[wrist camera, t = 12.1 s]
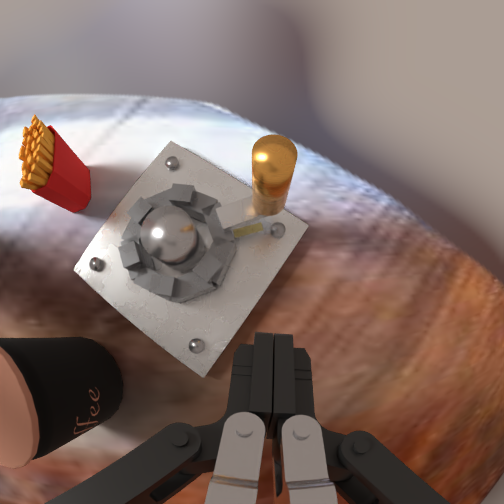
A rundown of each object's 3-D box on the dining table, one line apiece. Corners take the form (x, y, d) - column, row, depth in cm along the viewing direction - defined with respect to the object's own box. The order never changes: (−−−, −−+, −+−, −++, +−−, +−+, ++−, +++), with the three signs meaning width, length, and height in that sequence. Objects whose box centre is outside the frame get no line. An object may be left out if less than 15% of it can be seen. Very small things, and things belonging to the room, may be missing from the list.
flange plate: (205, 375, 32) (191, 390, 24) (79, 271, 35) (42, 258, 27) (306, 229, 36) (320, 204, 28) (173, 146, 38) (157, 110, 30)
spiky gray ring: (150, 314, 32) (91, 307, 19) (123, 221, 34) (65, 171, 21) (301, 256, 33) (329, 215, 20) (261, 167, 35) (265, 92, 22)
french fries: (66, 167, 38) (16, 120, 25) (90, 157, 38) (44, 105, 25) (67, 225, 36) (7, 188, 23) (93, 215, 36) (36, 173, 23)
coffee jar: (89, 433, 30) (-1, 483, 12) (43, 364, 32) (-59, 374, 14) (144, 392, 31) (57, 442, 14) (92, 319, 33) (-15, 309, 16)
